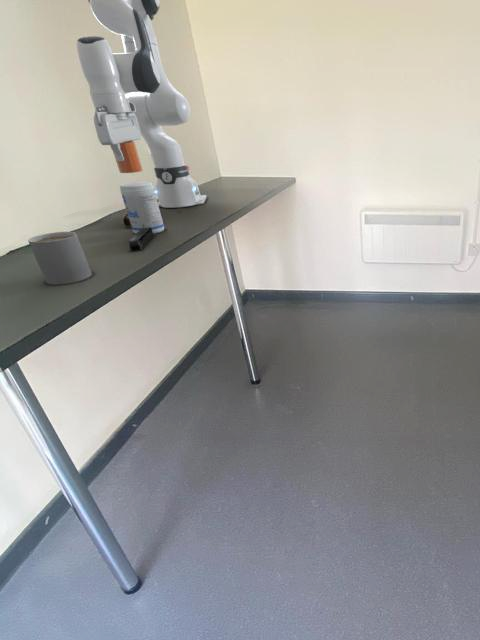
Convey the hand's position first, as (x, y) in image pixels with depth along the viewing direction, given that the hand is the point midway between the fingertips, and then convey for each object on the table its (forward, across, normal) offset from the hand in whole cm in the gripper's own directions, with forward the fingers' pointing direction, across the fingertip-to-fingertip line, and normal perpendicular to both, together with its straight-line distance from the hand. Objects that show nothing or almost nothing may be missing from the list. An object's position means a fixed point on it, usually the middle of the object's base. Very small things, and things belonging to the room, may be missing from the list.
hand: (127, 159), depth 146 cm
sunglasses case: (+22, +17, +9) cm, 29 cm away
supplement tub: (+22, 0, 0) cm, 22 cm away
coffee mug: (+22, -44, +2) cm, 49 cm away
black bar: (+22, -15, -4) cm, 26 cm away
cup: (+3, 0, 0) cm, 3 cm away
